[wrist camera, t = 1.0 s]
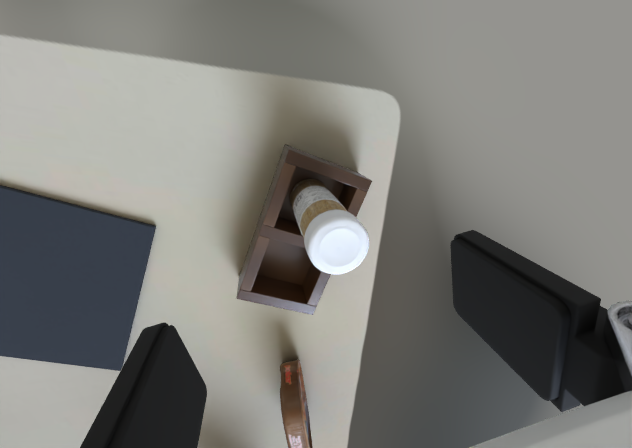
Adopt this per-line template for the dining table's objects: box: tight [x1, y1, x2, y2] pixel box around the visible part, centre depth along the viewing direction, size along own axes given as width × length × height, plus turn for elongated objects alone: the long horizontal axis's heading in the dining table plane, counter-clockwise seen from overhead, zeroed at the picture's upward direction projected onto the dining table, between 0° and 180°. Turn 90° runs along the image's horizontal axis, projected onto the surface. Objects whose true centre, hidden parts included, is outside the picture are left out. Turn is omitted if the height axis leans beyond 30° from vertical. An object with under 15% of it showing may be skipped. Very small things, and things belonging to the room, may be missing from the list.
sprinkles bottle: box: [290, 179, 369, 274], centre depth 27 cm, size 5×5×14 cm
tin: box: [280, 359, 312, 448], centre depth 39 cm, size 15×3×8 cm, turn 6°
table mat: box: [0, 185, 156, 371], centre depth 31 cm, size 20×20×1 cm
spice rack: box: [237, 145, 372, 315], centre depth 32 cm, size 17×9×4 cm, turn 159°
